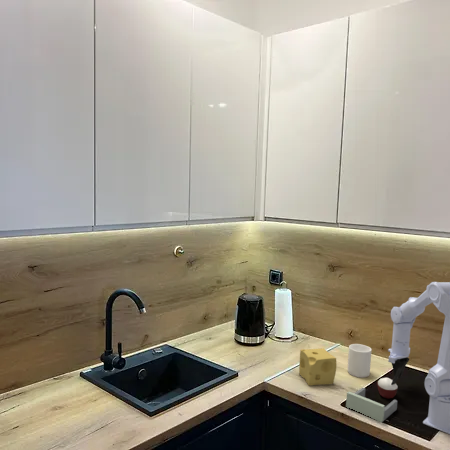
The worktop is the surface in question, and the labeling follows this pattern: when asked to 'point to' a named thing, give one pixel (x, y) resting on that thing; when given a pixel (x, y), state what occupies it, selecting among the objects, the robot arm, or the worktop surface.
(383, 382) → the cocoa
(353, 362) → the cup
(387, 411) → the box
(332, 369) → the cheese
